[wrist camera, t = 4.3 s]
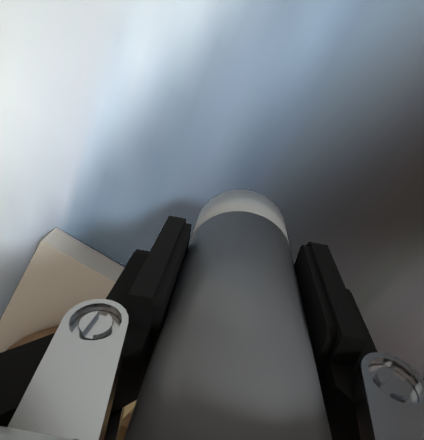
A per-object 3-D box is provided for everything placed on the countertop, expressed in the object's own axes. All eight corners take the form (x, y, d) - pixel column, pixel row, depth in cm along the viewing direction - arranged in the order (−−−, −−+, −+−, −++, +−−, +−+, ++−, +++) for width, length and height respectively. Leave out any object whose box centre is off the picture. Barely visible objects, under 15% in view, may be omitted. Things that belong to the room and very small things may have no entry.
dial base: (56, 227, 18) (39, 242, 16) (334, 390, 22) (342, 414, 20) (-43, 412, 26) (-60, 434, 24) (174, 506, 30) (171, 530, 28)
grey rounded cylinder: (230, 171, 12) (173, 490, 3) (304, 224, 13) (439, 619, 4) (180, 237, 13) (41, 583, 4) (248, 281, 14) (245, 661, 5)
